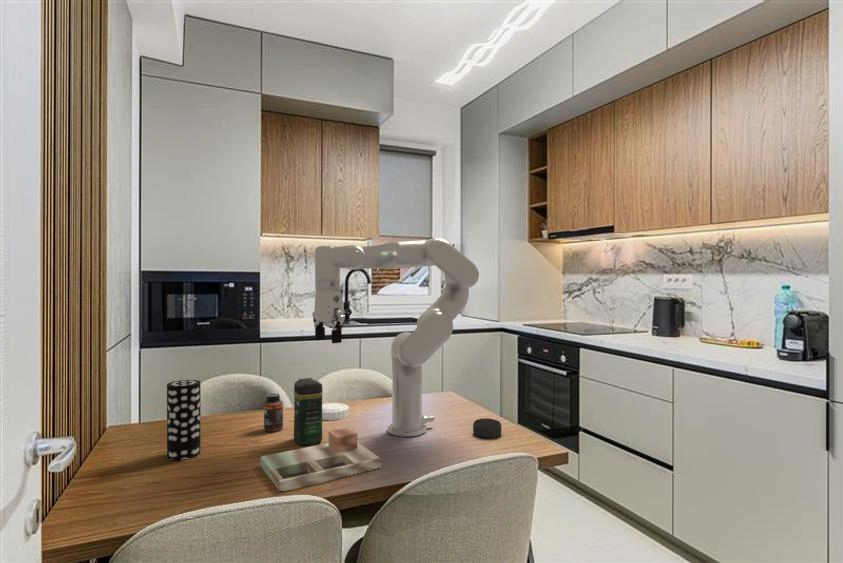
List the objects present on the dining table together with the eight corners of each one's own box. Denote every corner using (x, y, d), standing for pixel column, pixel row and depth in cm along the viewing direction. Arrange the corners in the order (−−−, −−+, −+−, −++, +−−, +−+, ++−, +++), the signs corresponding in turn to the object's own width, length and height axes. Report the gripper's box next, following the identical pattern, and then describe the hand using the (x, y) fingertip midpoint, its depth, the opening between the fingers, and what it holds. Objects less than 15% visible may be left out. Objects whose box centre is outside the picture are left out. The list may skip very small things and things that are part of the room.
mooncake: (308, 419, 165) (308, 409, 165) (323, 410, 176) (323, 400, 176) (340, 422, 162) (340, 411, 162) (353, 412, 174) (353, 402, 174)
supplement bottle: (286, 427, 156) (286, 392, 156) (278, 432, 150) (278, 397, 150) (268, 426, 156) (268, 392, 156) (260, 432, 150) (260, 396, 150)
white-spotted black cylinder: (166, 463, 125) (166, 387, 125) (167, 452, 133) (167, 381, 132) (201, 457, 129) (201, 384, 129) (199, 447, 136) (199, 378, 136)
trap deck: (352, 447, 138) (352, 438, 138) (380, 468, 122) (380, 458, 122) (260, 465, 124) (260, 456, 123) (280, 492, 108) (280, 481, 108)
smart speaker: (474, 439, 145) (475, 426, 145) (471, 430, 154) (471, 417, 154) (503, 439, 145) (503, 426, 145) (498, 430, 154) (498, 417, 154)
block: (348, 441, 135) (348, 427, 135) (357, 448, 130) (357, 433, 130) (328, 445, 132) (328, 431, 131) (336, 452, 126) (337, 437, 126)
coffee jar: (325, 443, 140) (325, 381, 140) (298, 448, 137) (299, 384, 136) (316, 434, 149) (316, 375, 149) (291, 437, 145) (291, 377, 145)
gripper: (353, 286, 142) (354, 342, 142) (323, 285, 155) (324, 337, 155) (331, 286, 137) (332, 345, 137) (303, 285, 150) (303, 339, 150)
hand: (328, 341), depth 146 cm, fingers open, 9 cm apart
